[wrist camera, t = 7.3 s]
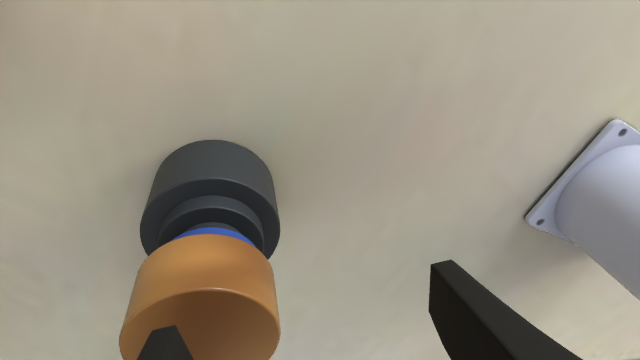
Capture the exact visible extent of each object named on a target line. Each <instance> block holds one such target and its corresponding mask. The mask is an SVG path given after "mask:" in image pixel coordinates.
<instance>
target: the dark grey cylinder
mask: <svg viewBox="0 0 640 360" xmlns="http://www.w3.org/2000/svg"><path fill="white" fill-rule="evenodd" d="M197 234H220V235H226V236H231V237H235V238H238V239H241V240H243V241H245V242H247V243H249V244H251V245H252V246H254V247H255V248H257V249H258V250H259V251H260V252H261V253H262V254H263V255H264V256H265V257H266V258H267V260H268V259H269V258H270V257H271V255H272V254H273V252H274V251H275V248H276V246H277V244H278V241H279V237H280V222H279V216H278V210H277V204H276V198H275V192H274V186H273V181H272V177H271V174H270V172H269V170H268V168H267V167H266V165H265V164H264V162H263V161H262V160H261V159H260V158H259V157H258V156H257V155H255V154H254V153H253V152H251V151H250V150H248V149H246V148H245V147H242V146H240V145H238V144H234V143H231V142H226V141H220V140H205V141H199V142H195V143H191V144H188V145H186V146H184V147H181V148H180V149H178V150H176V151H175V152H173V153H172V154H171V155H169V156H168V157H167V158H166V159H165V161H164V162H163V163H162V164H161V166H160V167H159V169H158V171H157V174H156V176H155V179H154V182H153V186H152V189H151V192H150V195H149V198H148V201H147V204H146V207H145V210H144V213H143V216H142V220H141V223H140V238H141V242H142V245H143V247H144V250H145V252H146V253H147V255H148V256H150V255H151V254H152V253H153V252H154V251H155V250H157V249H158V248H159V247H161V246H163V245H165V244H166V243H168V242H171V241H173V240H175V239H179V238H182V237H185V236H190V235H197Z"/></svg>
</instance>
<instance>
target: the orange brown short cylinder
mask: <svg viewBox="0 0 640 360" xmlns="http://www.w3.org/2000/svg"><path fill="white" fill-rule="evenodd" d="M173 325H176V327H177V329H178V331H179V332H180V334H181V336H182V338H183V340H184V342H185V344H186V346H187V348H188V349H189V351H190V353H191V355H192V357H193V359H194V360H269V359H270V357H271V356H272V355H273V353H274V352H275V350H276V348H277V345H278V343H279V340H280V322H279V314H278V305H277V297H276V289H275V281H274V274H273V270H272V267H271V265H270V263H269V261H268V260H267V258H266V257H265V256H264V255H263V254H262V253H261V252H260V251H259V250H258V249H257V248H255V247H254V246H252V245H251V244H249V243H247V242H245V241H243V240H241V239H238V238H235V237H231V236H226V235H220V234H197V235H190V236H185V237H182V238H179V239H175V240H173V241H171V242H168V243H166V244H165V245H163V246H161V247H159V248H158V249H157V250H155V251H154V252H153V253H152V254H151V255H150V256H149V257H148V258H147V259H146V260H145V261H144V262H143V264H142V265H141V267H140V269H139V271H138V274H137V277H136V281H135V284H134V288H133V291H132V295H131V298H130V302H129V305H128V309H127V312H126V316H125V319H124V323H123V326H122V330H121V333H120V337H119V347H120V352H121V355H122V357H123V359H124V360H137V358H138V356H139V354H140V352H141V350H142V348H143V346H144V344H145V342H146V340H147V338H148V336H149V334H150V333H151V332H152V330H156V329H160V328H164V327H168V326H173Z"/></svg>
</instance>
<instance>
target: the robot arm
mask: <svg viewBox="0 0 640 360" xmlns="http://www.w3.org/2000/svg"><path fill="white" fill-rule="evenodd" d="M525 222H526V223H527V224H529V225H530V226H532V227H535V228H537V229H540V230H542V231H545V232H547V233H549V234H552V235H554V236H557V237H559V238H562V239H564V240H567V241H569V242H571V243H574V244H576V245H577V246H578V247H579V248H581V249H582V250H583V251H584V252H585V253H586V254H587V255H589V256H590V257H591V258H592V259H593V260H594V261H595V262H596V263H598V264H599V265H600V266H601V267H602V268H603V269H604V270H606V271H607V272H608V273H609V274H610V275H611V276H612V277H613V278H615V279H616V280H617V281H618V282H619V283H620V284H621V285H623V286H624V287H625V288H626V289H627V290H628V291H629V292H630V293H632V294H633V295H634V296H635V297H636V298H637V299H638V300H639V301H640V133H639V132H638V131H636V130H635V129H633V128H632V127H630V126H629V125H627V124H626V123H624V122H623V121H621V120H618V119H616V120H613V121H611V122H609V123H608V124H607V125H606V127H605V128H604V129H603V130H602V131H601V132H600V133H599V134H598V136H597V137H596V138H595V139H594V140H593V141H592V142H591V143H590V145H589V146H588V147H587V148H586V149H585V150H584V151H583V152H582V154H581V155H580V156H579V157H578V158H577V159H576V160H575V161H574V162H573V164H572V165H571V166H570V167H569V168H568V169H567V170H566V171H565V173H564V174H563V175H562V176H561V177H560V178H559V179H558V180H557V182H556V183H555V184H554V185H553V186H552V187H551V188H550V189H549V191H548V192H547V193H546V194H545V195H544V196H543V197H542V198H541V200H540V201H539V202H538V203H537V204H536V205H535V206H534V207H533V209H532V210H531V211H530V212H529V213H528V214H527V215H526V217H525ZM429 313H430V315H431V318H432V320H433V323H434V325H435V328H436V330H437V332H438V334H439V337H440V339H441V341H442V344H443V346H444V348H445V349H446V351H447V353H448V355H449V357H450V358H451V360H583V359H581V358H579V357H578V356H576V355H575V354H573V353H572V352H570V351H569V350H567V349H566V348H565V347H563V346H562V345H560V344H559V343H557V342H556V341H554V340H553V339H552V338H550V337H549V336H547V335H546V334H545V333H543V332H542V331H540V330H539V329H538V328H536V327H535V326H534V325H532V324H531V323H529V322H528V321H527V320H525V319H524V318H523V317H522V316H520V315H519V314H518V313H516V312H515V311H514V310H512V309H511V308H510V307H509V306H507V305H506V304H505V303H503V302H502V301H501V300H500V299H498V298H497V297H496V296H495V295H493V294H492V293H491V292H490V291H489V290H487V289H486V288H485V287H484V286H483V285H481V284H480V283H479V282H478V281H477V280H475V279H474V278H473V277H472V276H471V275H469V274H468V273H467V272H466V271H465V270H464V269H462V268H461V267H460V266H459V265H458V264H457V263H455V262H454V261H453V260H447V261H443V262H439V263H434V264H431V272H430V293H429ZM137 360H194V359H193V357H192V355H191V353H190V351H189V349H188V348H187V346H186V344H185V342H184V340H183V338H182V336H181V334H180V332H179V331H178V329H177V327H176V325H173V326H168V327H164V328H160V329H156V330H152V332H151V333H150V334H149V336H148V338H147V340H146V342H145V344H144V346H143V348H142V350H141V352H140V354H139V356H138V358H137Z"/></svg>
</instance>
